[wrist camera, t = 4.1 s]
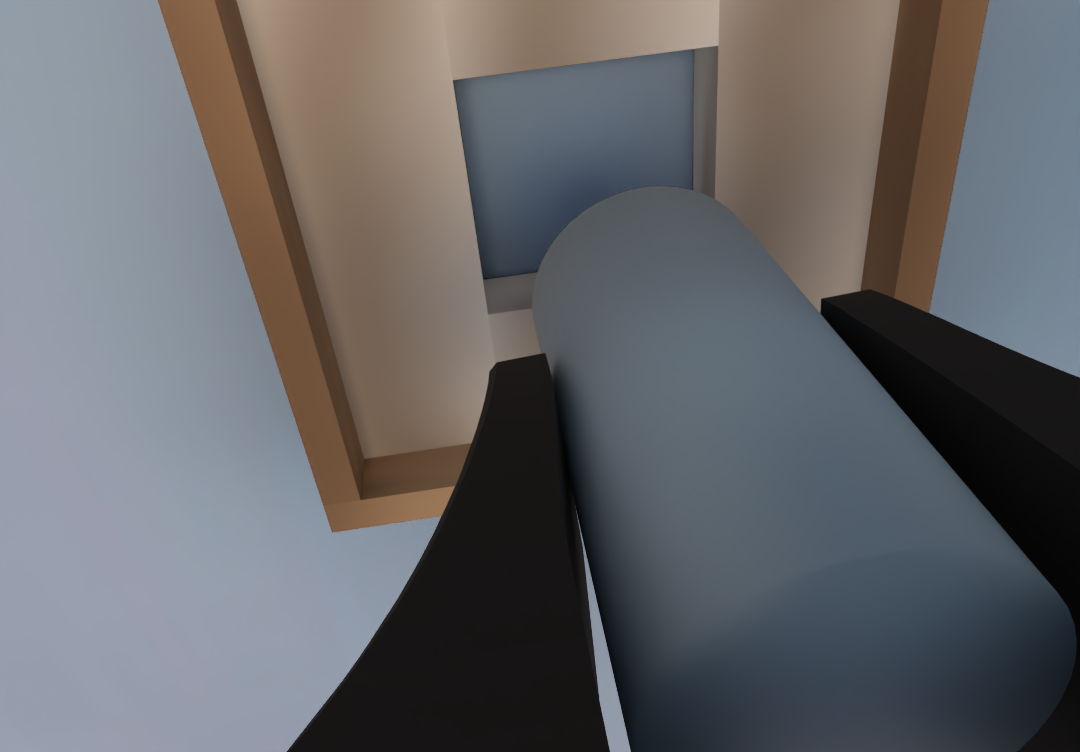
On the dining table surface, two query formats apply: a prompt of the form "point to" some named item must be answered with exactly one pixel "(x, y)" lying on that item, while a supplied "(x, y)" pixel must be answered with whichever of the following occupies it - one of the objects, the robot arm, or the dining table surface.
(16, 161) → the dining table surface
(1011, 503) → the robot arm
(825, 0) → the tray box
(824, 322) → the peg
